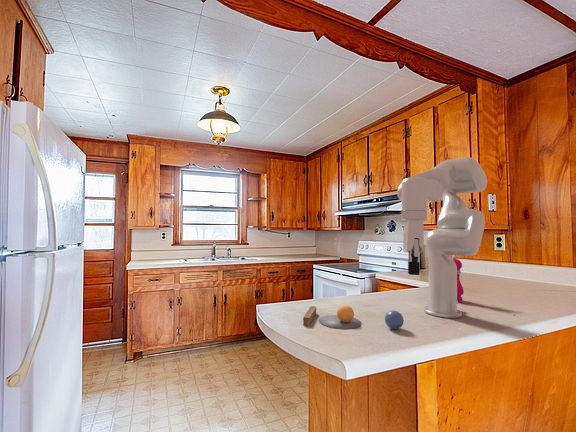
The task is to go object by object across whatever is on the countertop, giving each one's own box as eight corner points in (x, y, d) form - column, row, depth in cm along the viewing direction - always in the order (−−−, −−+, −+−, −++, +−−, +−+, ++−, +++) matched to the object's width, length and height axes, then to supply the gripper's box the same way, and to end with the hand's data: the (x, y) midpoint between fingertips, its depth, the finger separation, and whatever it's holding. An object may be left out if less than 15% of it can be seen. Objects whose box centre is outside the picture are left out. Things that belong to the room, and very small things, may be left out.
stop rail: (316, 313, 108) (316, 306, 108) (309, 325, 95) (309, 317, 95) (310, 312, 109) (310, 306, 109) (303, 325, 95) (303, 317, 95)
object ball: (344, 302, 103) (351, 317, 102) (331, 309, 101) (338, 325, 100) (352, 302, 98) (359, 318, 97) (338, 309, 96) (346, 326, 95)
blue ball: (394, 305, 96) (390, 319, 98) (383, 309, 93) (379, 323, 95) (409, 315, 92) (404, 330, 94) (397, 319, 89) (393, 335, 91)
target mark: (336, 313, 109) (336, 312, 109) (369, 323, 99) (369, 322, 99) (309, 320, 100) (309, 319, 100) (342, 332, 89) (342, 331, 89)
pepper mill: (466, 303, 127) (466, 256, 128) (448, 302, 129) (448, 255, 130) (460, 299, 135) (460, 254, 135) (442, 298, 136) (442, 254, 137)
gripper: (398, 217, 103) (398, 270, 102) (404, 215, 88) (404, 277, 88) (422, 217, 101) (422, 271, 101) (432, 215, 87) (431, 279, 86)
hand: (413, 274), depth 94 cm, fingers closed
